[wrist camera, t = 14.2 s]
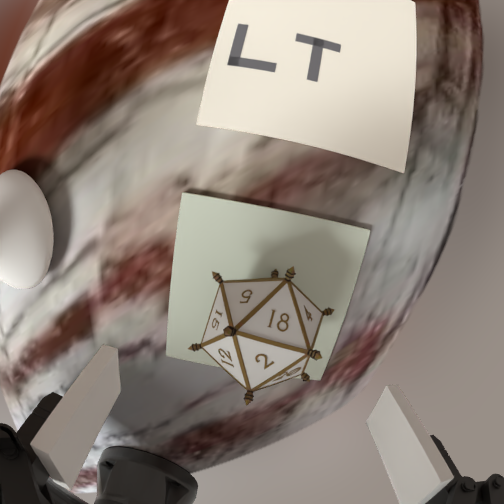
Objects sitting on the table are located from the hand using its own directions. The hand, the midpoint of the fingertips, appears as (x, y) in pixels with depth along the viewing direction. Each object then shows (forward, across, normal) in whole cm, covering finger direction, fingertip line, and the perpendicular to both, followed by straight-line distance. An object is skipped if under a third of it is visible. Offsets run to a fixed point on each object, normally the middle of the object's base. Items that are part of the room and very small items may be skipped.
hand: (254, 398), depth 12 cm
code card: (+10, -2, -22) cm, 24 cm away
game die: (+10, -1, 0) cm, 10 cm away
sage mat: (+11, -1, -1) cm, 11 cm away
